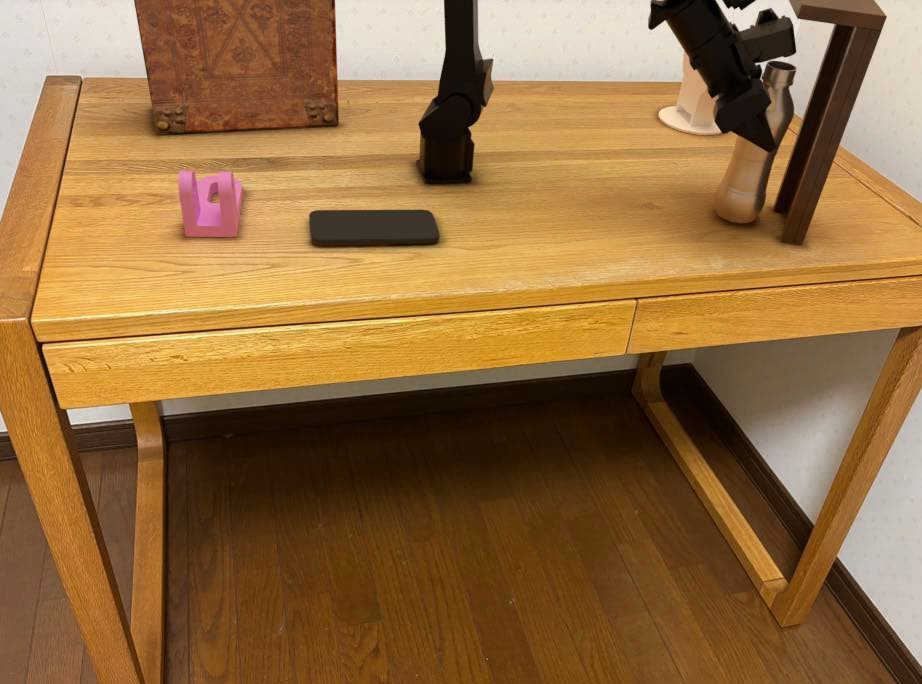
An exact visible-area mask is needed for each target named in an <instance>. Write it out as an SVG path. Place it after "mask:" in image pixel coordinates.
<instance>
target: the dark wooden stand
mask: <svg viewBox="0 0 922 684" xmlns="http://www.w3.org/2000/svg"><path fill="white" fill-rule="evenodd" d="M788 2H789V4H790V6H791V8H792V10H793V13H794V14H795V17H796V19H797V20H803V21H811V22H818V23H824V24H832V25H833V27H832V31H831V32H830V33H831V34H830V37H829V39H828V43H827V46H826V48H825V51H824V53H823V56H822V60H821V63H820V66H819V69H818V73H817V76H816V78H815V81H814V84H813V87H812V90H811V93H810V96H809V99H808V102H807V105H806V108H805V111H804V114H803V117H802V120H801V123H800V125H799V129H798V131H797V134H796V138H795V141H794V144H793V146H792V150H791V152H790V155H789V157H788V161H787V165H786V168H785V171H784V173H783V176H782V180H781V183H780V184H779V189H778V192H777V195H776V198H775V200H774V203H773V206H772V209H773V212H777V213H784V215H785V218H786V221H785V224H784V227H783V229H782V233H781V236H780V239H779V240H780V242H781V243H783V244H784V243H785V244H789V245H790V244H791V245H796V246H803V244H804V241H805V239H806V236H807V234H808V231H809V228H810V225H811V222H812V220H813V217H814V214H815V212H816V209H817V206H818V204H819V200H820V198H821V196H822V193H823V190H824V187H825V185H826V182H827V179H828V176H829V174H830V171H831V168H832V166H833V163H834V160H835V158H836V155H837V153H838V149H839V147H840V145H841V141H842V139H843V136H844V135H845V134H844V133H845V131H846V128H847V125H848V123H849V120H850V117H851V115H852V112H853V109H854V106H855V104H856V101H857V99H858V96H859V94H860V91H861V87H862V85H863V82H864V79H865V77H866V75H867V72H868V69H869V66H870V64H871V61H872V58H873V55H874V53H875V50H876V47H877V44H878V42H879V39H880V37H881V33H882V31H883V28H884V26H885V23H886V20H887V18H888V16H887V15H886V13H885V12H884V10H883V9H882V8H881V7H880V5H879V4H878V3H877V2H876V0H788Z"/></svg>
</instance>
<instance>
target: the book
mask: <svg viewBox="0 0 922 684" xmlns="http://www.w3.org/2000/svg"><path fill="white" fill-rule="evenodd" d="M133 3H134V8H135V15H136V19H137V21H136V22H137V25H138V33H139V37H140V43H141V50H142V54H143V55H142V56H143V62H144V66H145V72H146V73H145V74H146V79H147V85H148V91H149V96H150V103H151V109H152V113H153V114H152V115H153V119H154V125H155V126H154V127H155V131H156V134H157V135H175V134H176V135H177V134H196V133H197V134H198V133H218V132H219V133H221V132H240V131H241V132H242V131H243V132H244V131H261V130H262V131H264V130H284V129H285V130H286V129H289V130H290V129H307V128H310V129H311V128H328V127H329V128H330V127H331V128H332V127H338V126H339V124H340V119H339V118H340V115H339V113H340V112H339V88H338V87H339V84H338V82H339V81H338V50H337V49H338V48H337V20H336V19H337V18H336V16H337V15H336V0H133Z"/></svg>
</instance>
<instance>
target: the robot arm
mask: <svg viewBox="0 0 922 684" xmlns="http://www.w3.org/2000/svg"><path fill="white" fill-rule="evenodd" d="M721 1H722V2H723V4H724V5H725V7H726V9H728V10H729V9H731V8H732V9H733V10H737V9H739V10H740V11H743V10H745V9H746V8H748V7H749V6H750V5H752V4H753V3H754V2H756V1H757V0H721ZM649 4H650V5H649V6H650V12H649V15H648V19H647V28H648V29H649V30H650V31H652V30H654V29H656V28H657V27H658V26H660V25H661V24H663V23H664V22H666V24H667V26H668V27H669V28H670V31H671V32H672V33H673V35H674V36H675V38H676V40H677V41H678V43H679V44H680V46H681V47H682V49H683V52H684V51H685V52H686V54H687V55H688V57H689V62H690V65H691V67H692V68H693V70H697V71H698V73H699V74H700V76H701V78H702V79H703V81H704V82H705V84H706V85H707V91H708V93H709V95H710V97H711V98H714V97H715V96H717V95H718V98H719V99H717V100H716V102H715V105H714V109H713V115H714V122H715V123H716V125H717V126H718V128H719V129H720V131H721V132H722V133H721V134H722V135H725V134H728V133H729V132H731V133H733V134H735V135H736V136H737V135H739V136H741V137H742V138H744V139H746V140H748V141H750V142H751V143H753V144H755V145H756V146H758V147H760V148H761V149H763V150H765V151H767V152H771V151H773V150H775V149H776V144H775V141H774V138H773V135H772V132H771V129H770V127H769V124H768V121H767V118H766V115H765V111H766V109H767V108H768V107H769V105H770V104H771V103H772V101H771V98H770V95H769V91H767V89H766V87H765V85H764V84H763V80H762V79H761V77H762V74H763V68H762V65H761V63H765V62H769V61H773V60H775V59H779V58H789V57H792V56H794V55H795V54H796V53H797V43H796V36H795V28H794V24H793V21H792V19H791V17H789V16H786V15H785V14H783V15H781V16H780V17H779V16H778V14H777V13H776V12H775V11H774V9H773V8H772V7H769V8H765V9H762V10H759V11H758V14H757V17H756V21H755V24H751V25H750V26H749V28H746V29H743V30H740V29H739V28H738V26H737V24H736V23H735V22H734V23H732V21H729V20H728V18H727V16H726V14H725V13H724V11H723V10H722V8H721V7H720V4H719V3H718V2H717V0H650V2H649ZM443 10H444V11H443V14H444V15H443V16H444V39H445V40H444V46H445V51H444V57H443V61H442V68H441V71H440V77H439V83H438V91H437V95H436V96H434V97H433V98H431V101H430V102H429V105H428V106H427V107H426V109H425V111H424V113H423V114H422V116H421V117H420V120H419V121H418V128H419V132H420V133H419V134H420V135H419V157H418V158H419V159H416V160H415V164H416V167H417V170H418V171H419V173H420V175H421V178H422V180H423V182H424V183H425V184H447V183H449V184H450V183H470V182H472V180H473V176H472V175H471V173H472V172H473V167H474V158H475V157H474V155H475V142H474V140H473V139H472V131H471V129H470V127H473V126H475V124H476V123H477V122H478V121H479V119H480V117H481V115H482V112H483V111H484V109H485V108H486V107H487V106H488V104H489V101H490V100H491V97H492V95H493V92H494V90H495V86H494V84H493V80H492V72H493V67H494V58H485V59H484V58H483V55H482V52H481V49H480V43H479V0H443Z"/></svg>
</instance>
